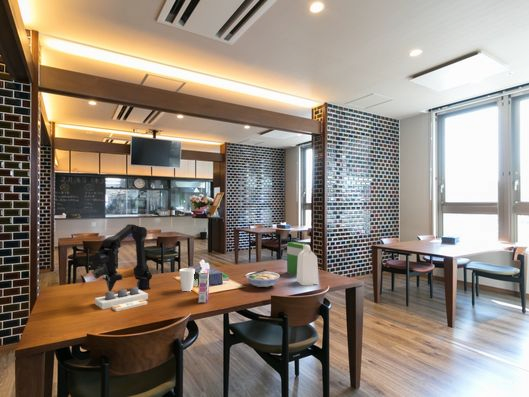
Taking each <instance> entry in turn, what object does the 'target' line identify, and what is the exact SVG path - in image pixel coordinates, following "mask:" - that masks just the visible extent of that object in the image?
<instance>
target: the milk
mask: <svg viewBox="0 0 529 397" xmlns="http://www.w3.org/2000/svg"><path fill="white" fill-rule="evenodd" d="M318 264H319V263H318V256H317V255H316V254H315V253H314V252H313V251H312V249H311V246H310V244H309V245H305V248H304V249H303V250H302V251H301V252H300V253H299V255H298V262H297V275H296V282H297V283H298V282H299V283H298V284H300V285H301V286H302V285H306V286H314V285H313V284H319V267H318Z"/></svg>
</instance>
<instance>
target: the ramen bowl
mask: <svg viewBox="0 0 529 397" xmlns="http://www.w3.org/2000/svg"><path fill="white" fill-rule="evenodd" d="M280 276H281V275H280V274H279V273H278V272H277V273H276V272H273V271H268V269H265V268H264V269H262V270H258V271H252V272H248V273H246V274H245V275H243V278H246V280H247V281H248V282H249V283H250V284H251V285H252V286H255V287H257V288H259V287H266V288H268V287H271V286H273V285H275V284H276V283H277V282H278V280H279V279H280Z"/></svg>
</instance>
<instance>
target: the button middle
mask: <svg viewBox="0 0 529 397" xmlns="http://www.w3.org/2000/svg"><path fill="white" fill-rule="evenodd" d="M127 292H128V291H127V289H126V288H125V289H119V290H117V294H118V297H119V298H121V297H126V296H127Z"/></svg>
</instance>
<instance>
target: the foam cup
mask: <svg viewBox="0 0 529 397" xmlns="http://www.w3.org/2000/svg"><path fill="white" fill-rule="evenodd" d="M195 271H196V269H195V268H193V267H185V268H184V267H183V268H181V269H179V277H180V278H179V279H180V289H181V291H182V292H183V291H190V292H192V291H193V288H194V287H193V281H194V274H195ZM191 290H192V291H191Z"/></svg>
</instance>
